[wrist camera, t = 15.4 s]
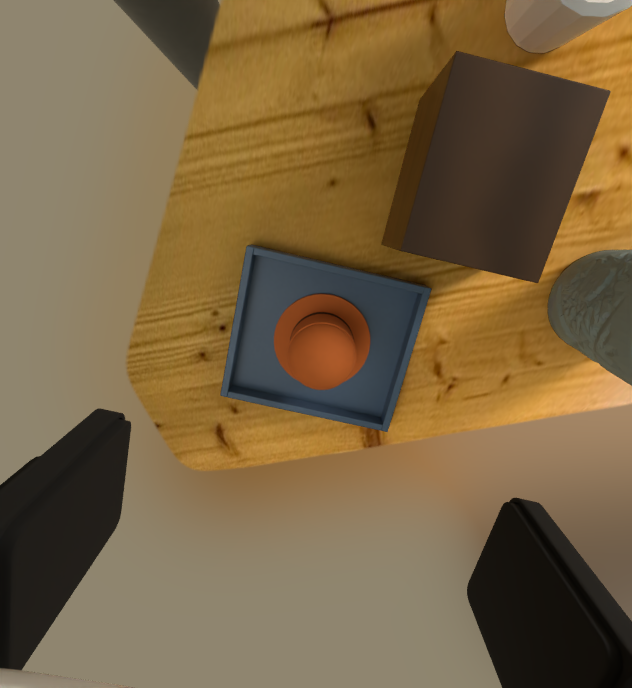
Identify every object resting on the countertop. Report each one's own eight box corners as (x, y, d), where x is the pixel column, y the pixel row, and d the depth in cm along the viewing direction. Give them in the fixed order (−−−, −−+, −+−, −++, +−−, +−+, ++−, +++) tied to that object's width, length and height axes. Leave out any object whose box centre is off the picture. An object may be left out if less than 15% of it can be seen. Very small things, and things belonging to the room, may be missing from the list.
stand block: (381, 244, 34) (400, 250, 25) (419, 99, 31) (456, 50, 22) (484, 269, 34) (538, 283, 26) (532, 128, 31) (611, 90, 23)
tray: (225, 387, 38) (220, 396, 36) (251, 244, 34) (246, 245, 32) (384, 421, 39) (387, 432, 37) (425, 285, 35) (431, 288, 33)
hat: (266, 374, 37) (253, 407, 30) (284, 283, 35) (275, 297, 28) (356, 394, 37) (363, 431, 31) (380, 305, 35) (394, 324, 28)
